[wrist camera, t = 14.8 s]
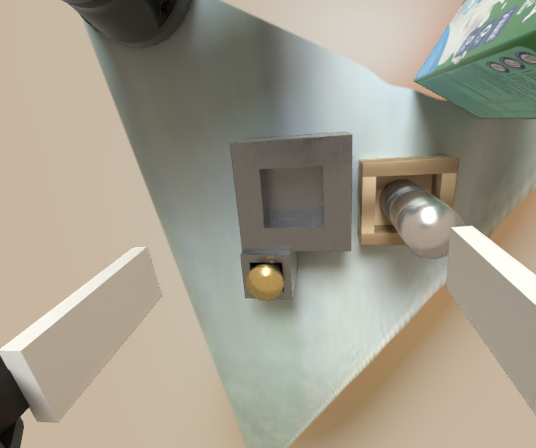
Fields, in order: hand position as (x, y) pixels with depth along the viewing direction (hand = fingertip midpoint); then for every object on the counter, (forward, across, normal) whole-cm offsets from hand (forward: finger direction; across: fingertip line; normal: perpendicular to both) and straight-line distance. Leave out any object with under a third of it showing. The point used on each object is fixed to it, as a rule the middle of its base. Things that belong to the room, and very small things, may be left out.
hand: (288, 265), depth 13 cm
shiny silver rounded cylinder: (+27, +11, -6) cm, 30 cm away
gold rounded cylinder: (+25, -6, -12) cm, 29 cm away
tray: (+28, +11, -6) cm, 31 cm away
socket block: (+28, -2, -6) cm, 29 cm away
